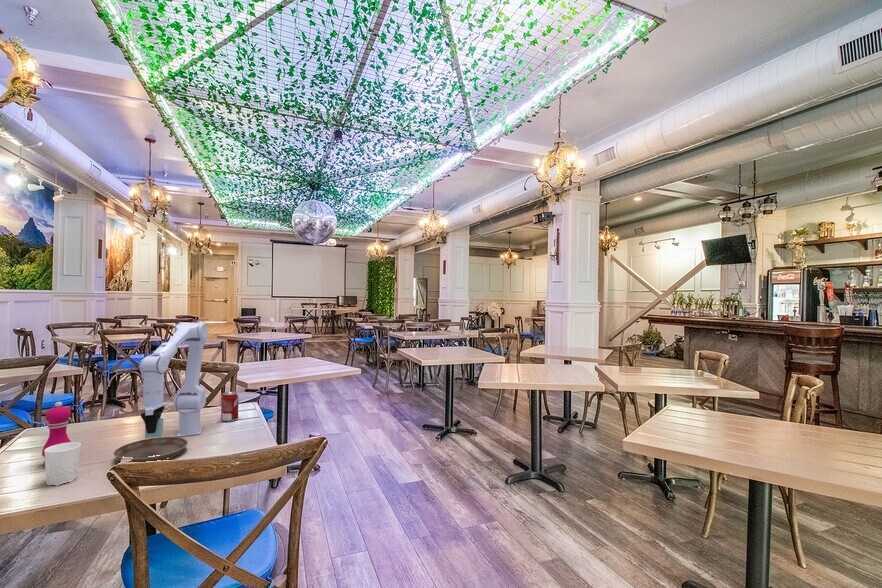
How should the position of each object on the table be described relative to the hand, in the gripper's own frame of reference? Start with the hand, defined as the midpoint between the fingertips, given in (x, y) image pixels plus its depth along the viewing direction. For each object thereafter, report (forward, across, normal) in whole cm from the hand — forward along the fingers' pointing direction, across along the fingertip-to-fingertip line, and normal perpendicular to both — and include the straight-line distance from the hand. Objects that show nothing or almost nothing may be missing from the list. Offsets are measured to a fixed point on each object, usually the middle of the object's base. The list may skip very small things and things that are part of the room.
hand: (152, 430), depth 140 cm
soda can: (+9, +33, -23) cm, 41 cm away
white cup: (+9, -12, +20) cm, 25 cm away
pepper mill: (+9, +4, +26) cm, 28 cm away
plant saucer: (+9, 0, 0) cm, 9 cm away
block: (+2, 0, 0) cm, 2 cm away
